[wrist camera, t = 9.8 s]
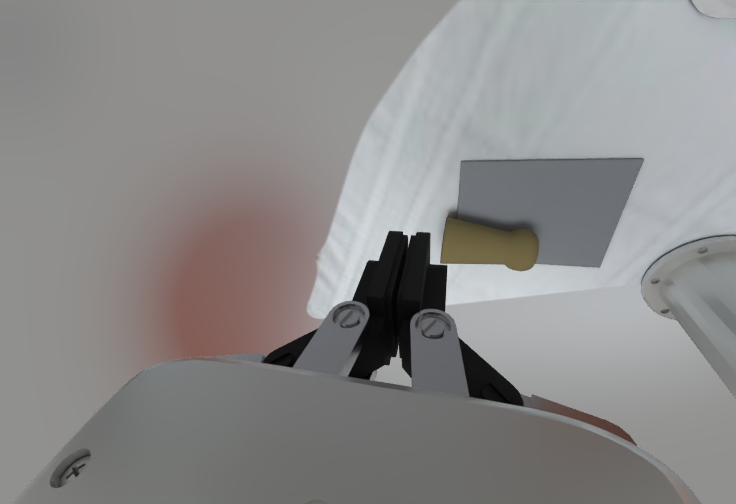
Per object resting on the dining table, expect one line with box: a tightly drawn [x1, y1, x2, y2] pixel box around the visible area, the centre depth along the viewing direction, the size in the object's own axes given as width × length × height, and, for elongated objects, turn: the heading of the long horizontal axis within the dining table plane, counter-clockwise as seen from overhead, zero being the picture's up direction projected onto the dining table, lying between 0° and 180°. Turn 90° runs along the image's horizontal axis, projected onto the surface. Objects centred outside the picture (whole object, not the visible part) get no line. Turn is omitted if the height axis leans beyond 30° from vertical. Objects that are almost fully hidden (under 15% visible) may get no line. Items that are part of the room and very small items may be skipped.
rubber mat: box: [457, 158, 644, 268], centre depth 38 cm, size 18×14×1 cm
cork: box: [440, 217, 539, 271], centre depth 39 cm, size 6×6×11 cm
